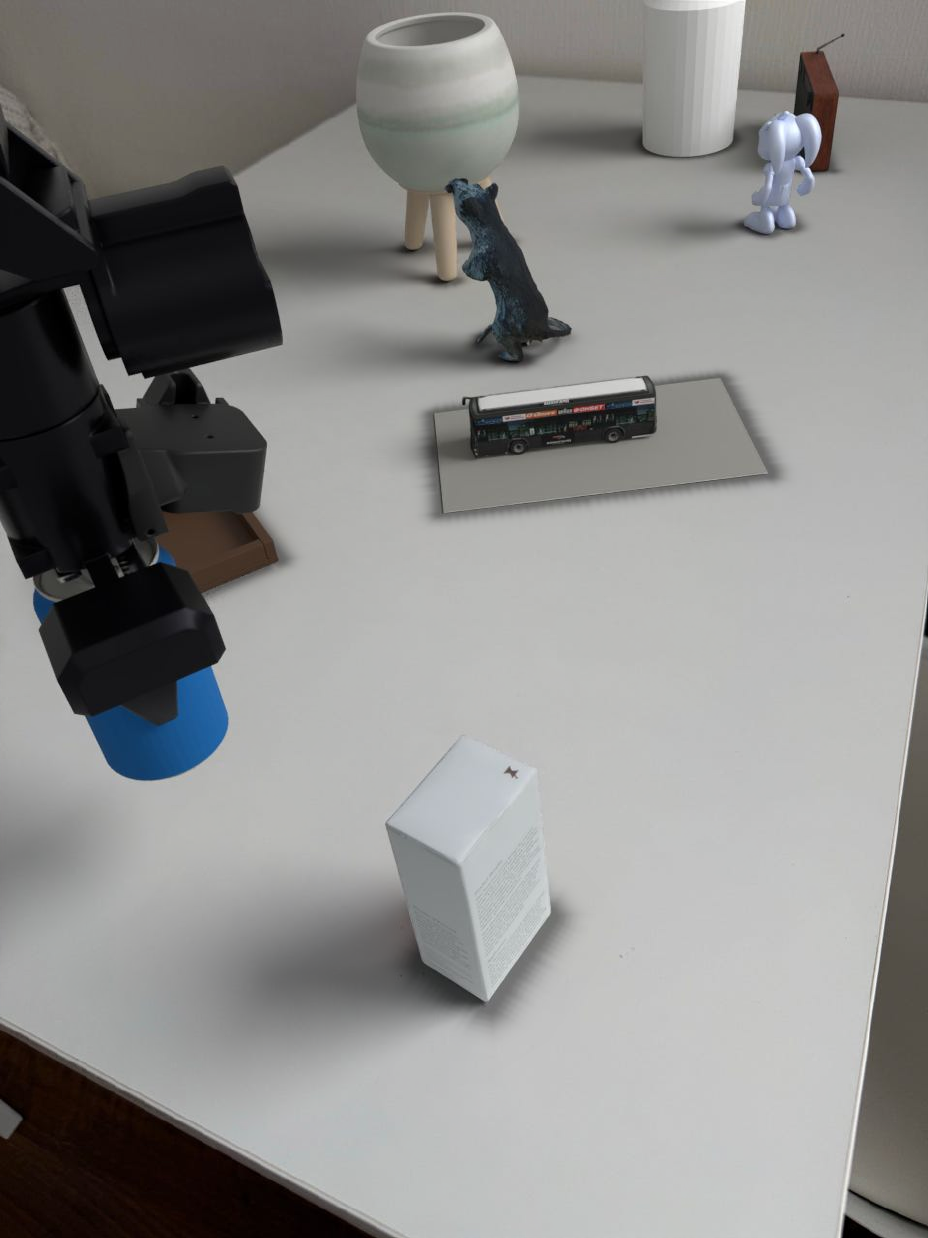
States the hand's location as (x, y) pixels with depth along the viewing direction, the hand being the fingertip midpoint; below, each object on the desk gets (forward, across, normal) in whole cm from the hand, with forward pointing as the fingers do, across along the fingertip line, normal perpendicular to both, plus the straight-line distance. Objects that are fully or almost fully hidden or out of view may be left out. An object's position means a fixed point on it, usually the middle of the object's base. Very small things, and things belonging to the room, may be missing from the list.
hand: (146, 677), depth 51 cm
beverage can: (+5, 0, 0) cm, 5 cm away
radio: (+13, +56, -96) cm, 112 cm away
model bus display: (+13, +20, -40) cm, 46 cm away
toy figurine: (+13, +42, -78) cm, 90 cm away
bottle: (+12, +69, -88) cm, 113 cm away
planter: (+13, +59, -48) cm, 77 cm away
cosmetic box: (+13, -15, -10) cm, 22 cm away
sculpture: (+13, +38, -43) cm, 59 cm away
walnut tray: (+12, +26, -5) cm, 30 cm away
